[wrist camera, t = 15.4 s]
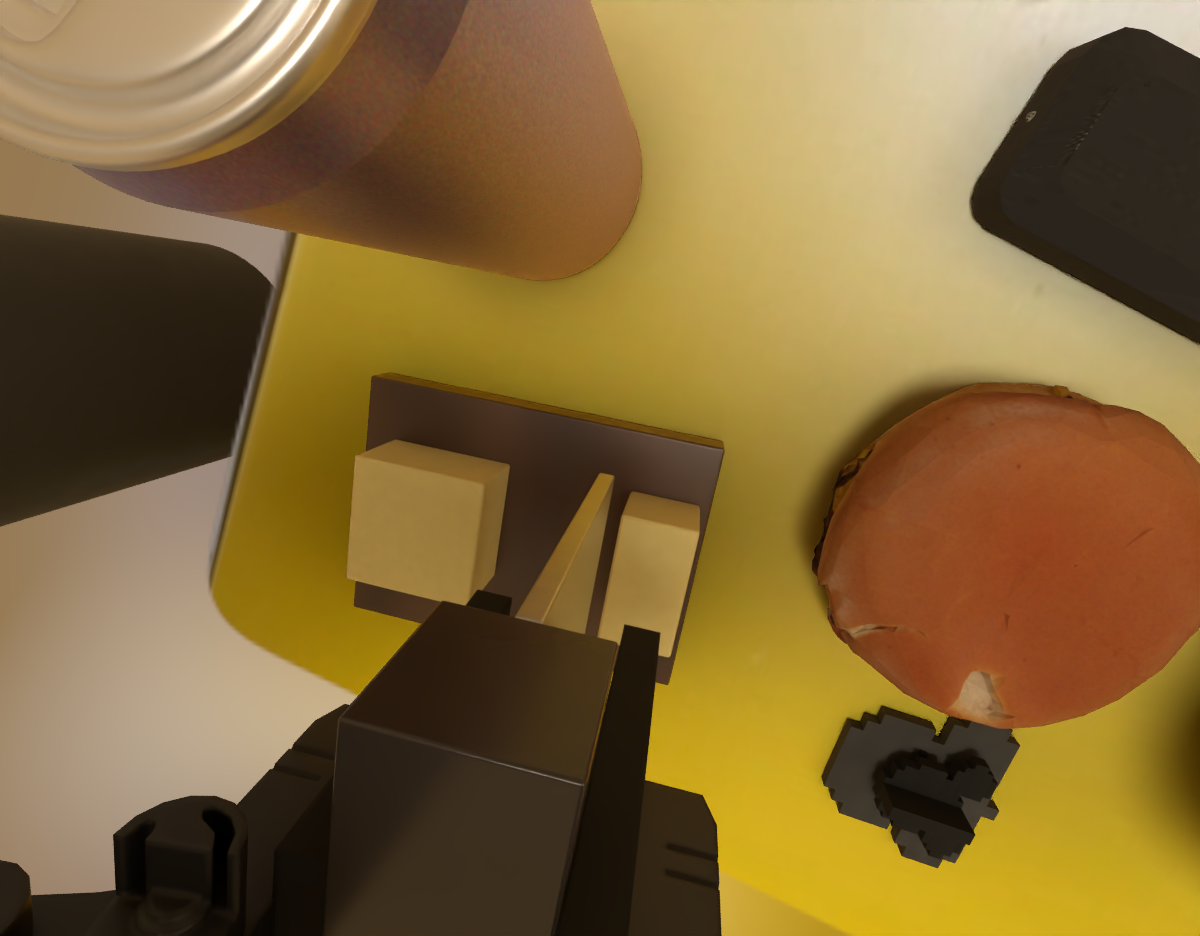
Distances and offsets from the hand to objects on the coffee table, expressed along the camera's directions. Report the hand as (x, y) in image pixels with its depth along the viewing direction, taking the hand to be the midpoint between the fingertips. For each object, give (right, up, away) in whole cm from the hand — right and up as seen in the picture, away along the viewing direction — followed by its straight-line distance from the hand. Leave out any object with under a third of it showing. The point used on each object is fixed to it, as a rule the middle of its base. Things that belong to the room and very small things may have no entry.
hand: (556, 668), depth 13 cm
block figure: (+12, -6, +9) cm, 16 cm away
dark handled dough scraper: (0, +1, +3) cm, 3 cm away
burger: (+12, +2, +6) cm, 14 cm away
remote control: (+19, +10, +4) cm, 21 cm away
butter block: (-4, +3, +8) cm, 9 cm away
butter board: (-1, +2, +9) cm, 9 cm away
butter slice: (+3, +1, +7) cm, 7 cm away
